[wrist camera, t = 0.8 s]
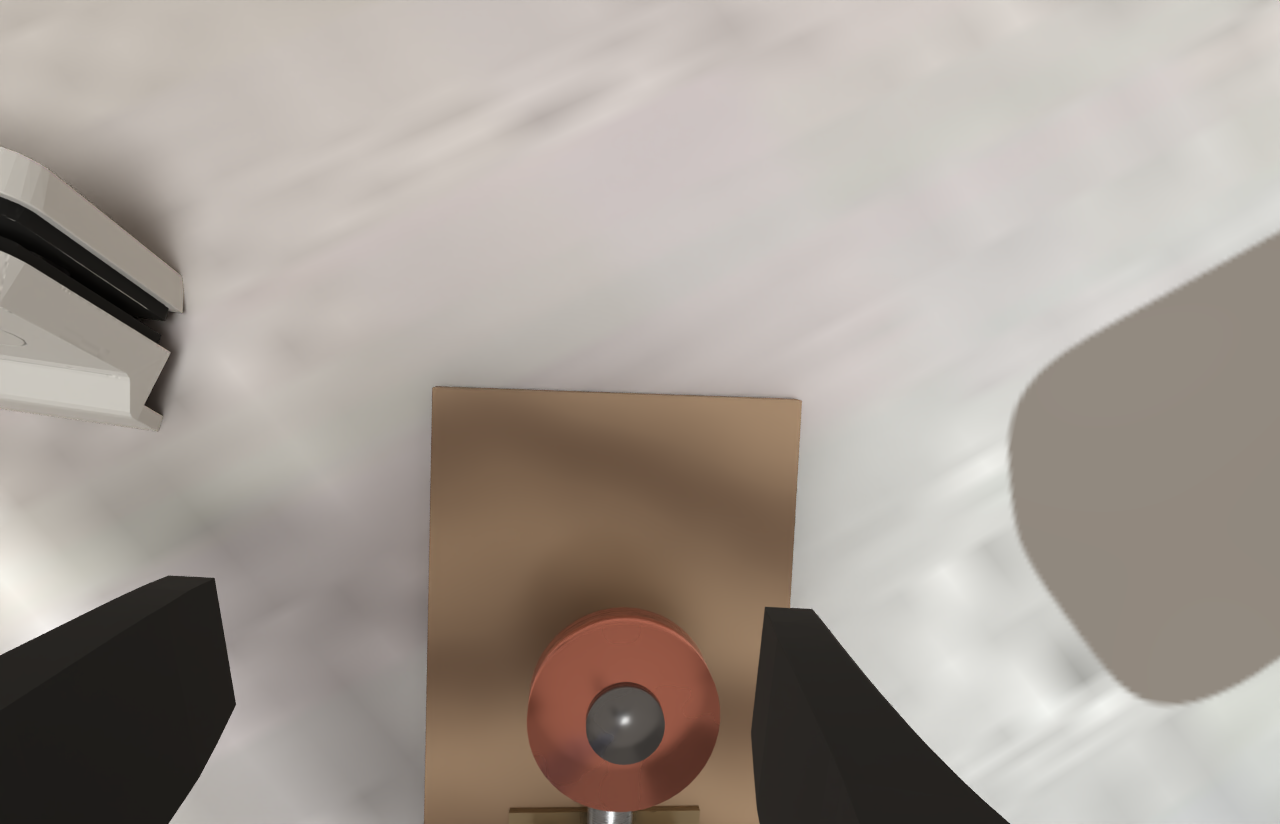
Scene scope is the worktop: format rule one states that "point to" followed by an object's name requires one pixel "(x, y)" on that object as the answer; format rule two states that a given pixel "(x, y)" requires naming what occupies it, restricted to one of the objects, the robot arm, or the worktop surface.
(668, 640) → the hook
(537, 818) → the wooden holder
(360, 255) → the worktop surface
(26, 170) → the grey rounded block
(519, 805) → the board
